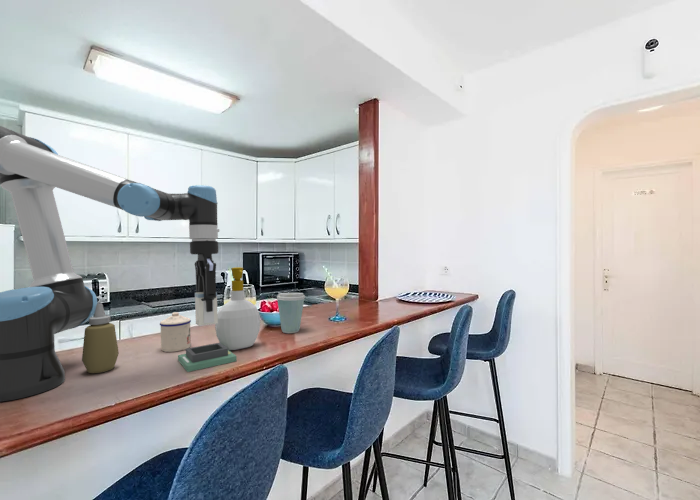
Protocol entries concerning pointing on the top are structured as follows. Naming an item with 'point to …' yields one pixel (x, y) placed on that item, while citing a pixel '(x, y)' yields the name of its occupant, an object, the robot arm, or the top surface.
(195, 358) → the header board
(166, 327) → the teacup with lid
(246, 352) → the top surface
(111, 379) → the top surface
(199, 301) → the plug
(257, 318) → the white round bottle
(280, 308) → the disposable coffee cup
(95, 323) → the squeeze bottle
